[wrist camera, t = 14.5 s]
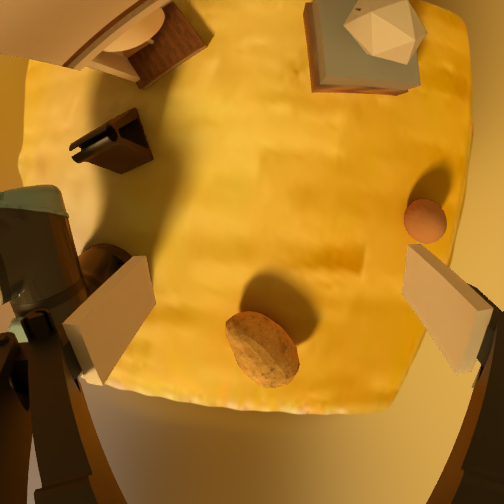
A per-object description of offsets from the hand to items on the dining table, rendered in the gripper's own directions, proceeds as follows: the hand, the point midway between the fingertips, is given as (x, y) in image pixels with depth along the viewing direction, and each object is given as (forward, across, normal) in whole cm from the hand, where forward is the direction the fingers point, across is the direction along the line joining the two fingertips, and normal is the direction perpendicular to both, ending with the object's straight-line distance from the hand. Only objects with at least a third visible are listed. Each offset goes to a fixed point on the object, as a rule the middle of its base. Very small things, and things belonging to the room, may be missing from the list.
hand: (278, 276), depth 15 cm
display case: (+32, +16, -24) cm, 43 cm away
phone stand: (+32, +22, -9) cm, 40 cm away
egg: (+32, -22, +5) cm, 39 cm away
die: (+22, -13, -20) cm, 33 cm away
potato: (+32, +3, +25) cm, 41 cm away
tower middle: (+27, -13, -20) cm, 36 cm away
